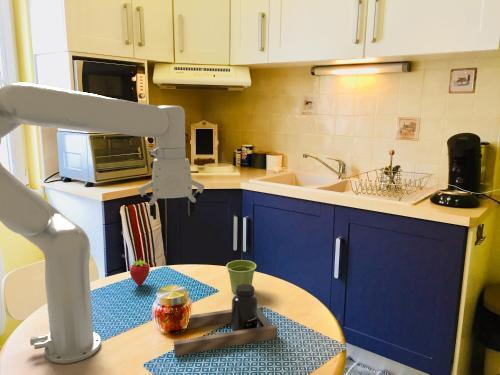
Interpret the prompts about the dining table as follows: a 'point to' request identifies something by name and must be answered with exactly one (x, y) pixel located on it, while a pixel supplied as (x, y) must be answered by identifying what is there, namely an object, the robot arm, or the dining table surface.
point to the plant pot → (240, 273)
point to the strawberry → (139, 272)
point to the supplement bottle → (244, 308)
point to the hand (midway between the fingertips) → (172, 217)
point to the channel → (224, 339)
